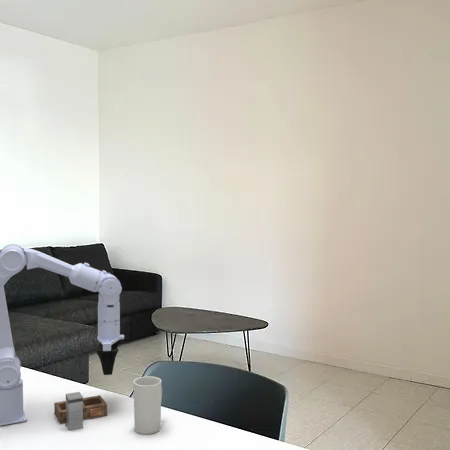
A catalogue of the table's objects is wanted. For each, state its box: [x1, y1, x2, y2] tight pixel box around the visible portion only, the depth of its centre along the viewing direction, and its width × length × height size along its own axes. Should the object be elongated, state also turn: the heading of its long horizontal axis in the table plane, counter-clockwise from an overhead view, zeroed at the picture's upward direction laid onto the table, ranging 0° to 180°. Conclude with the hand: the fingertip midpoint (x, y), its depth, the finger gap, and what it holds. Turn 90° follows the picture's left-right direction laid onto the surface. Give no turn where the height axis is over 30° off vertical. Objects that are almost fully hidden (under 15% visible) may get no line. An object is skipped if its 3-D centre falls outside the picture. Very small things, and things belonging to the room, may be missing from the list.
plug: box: [65, 391, 84, 431], centre depth 139 cm, size 3×3×8 cm
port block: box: [53, 394, 108, 425], centre depth 146 cm, size 12×7×3 cm, turn 117°
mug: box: [133, 376, 163, 435], centre depth 140 cm, size 10×7×12 cm, turn 156°
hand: (108, 369), depth 151 cm, fingers open, 7 cm apart
